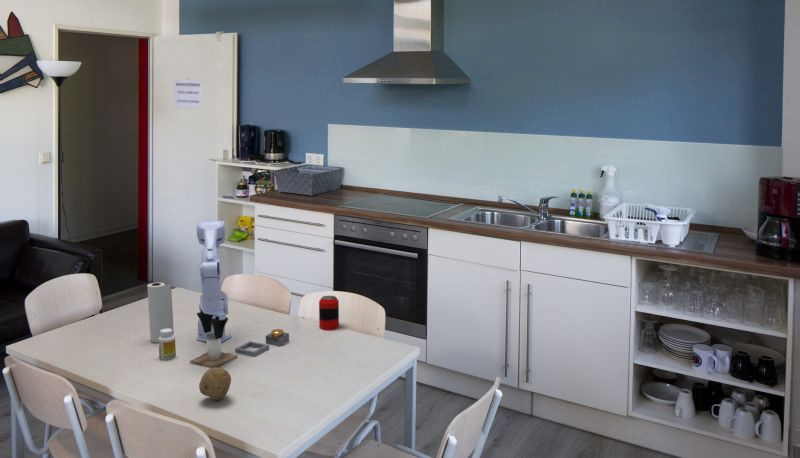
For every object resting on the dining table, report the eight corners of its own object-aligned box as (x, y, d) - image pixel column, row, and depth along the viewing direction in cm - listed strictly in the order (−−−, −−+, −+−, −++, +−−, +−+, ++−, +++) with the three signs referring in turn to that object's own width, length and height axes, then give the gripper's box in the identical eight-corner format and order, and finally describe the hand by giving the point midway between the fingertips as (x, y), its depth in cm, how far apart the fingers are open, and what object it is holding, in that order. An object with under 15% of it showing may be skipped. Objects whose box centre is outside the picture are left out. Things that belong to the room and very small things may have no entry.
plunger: (268, 340, 250) (268, 332, 250) (276, 336, 254) (275, 328, 254) (278, 342, 249) (278, 333, 248) (285, 338, 253) (285, 330, 252)
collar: (235, 352, 241) (234, 348, 241) (250, 345, 249) (249, 341, 248) (254, 356, 238) (254, 352, 237) (269, 348, 245) (269, 344, 245)
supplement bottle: (179, 355, 238) (177, 328, 236) (169, 361, 233) (167, 333, 231) (166, 353, 240) (164, 326, 238) (156, 358, 235) (154, 331, 233)
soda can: (337, 330, 265) (337, 300, 263) (318, 330, 265) (317, 300, 263) (339, 324, 272) (339, 294, 270) (320, 323, 272) (320, 294, 270)
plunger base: (265, 343, 250) (265, 335, 250) (275, 338, 256) (275, 330, 255) (279, 346, 248) (279, 338, 247) (289, 341, 253) (288, 333, 253)
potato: (202, 408, 198) (200, 376, 196) (197, 396, 206) (196, 364, 204) (234, 403, 202) (232, 371, 200) (228, 391, 210) (227, 360, 208)
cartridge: (206, 356, 235) (205, 334, 234) (220, 354, 237) (219, 332, 235) (207, 361, 231) (206, 338, 230) (221, 359, 233) (221, 337, 231)
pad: (190, 362, 232) (190, 360, 232) (212, 352, 241) (212, 350, 241) (216, 368, 227) (216, 366, 227) (237, 357, 237) (237, 355, 237)
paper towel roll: (147, 341, 251) (143, 285, 247) (158, 336, 256) (155, 281, 252) (162, 344, 248) (159, 287, 244) (174, 339, 254) (171, 283, 249)
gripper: (233, 298, 227) (234, 337, 230) (211, 289, 238) (213, 327, 240) (213, 303, 223) (215, 342, 225) (192, 293, 233) (194, 331, 236)
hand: (213, 335), depth 233 cm, fingers open, 7 cm apart
